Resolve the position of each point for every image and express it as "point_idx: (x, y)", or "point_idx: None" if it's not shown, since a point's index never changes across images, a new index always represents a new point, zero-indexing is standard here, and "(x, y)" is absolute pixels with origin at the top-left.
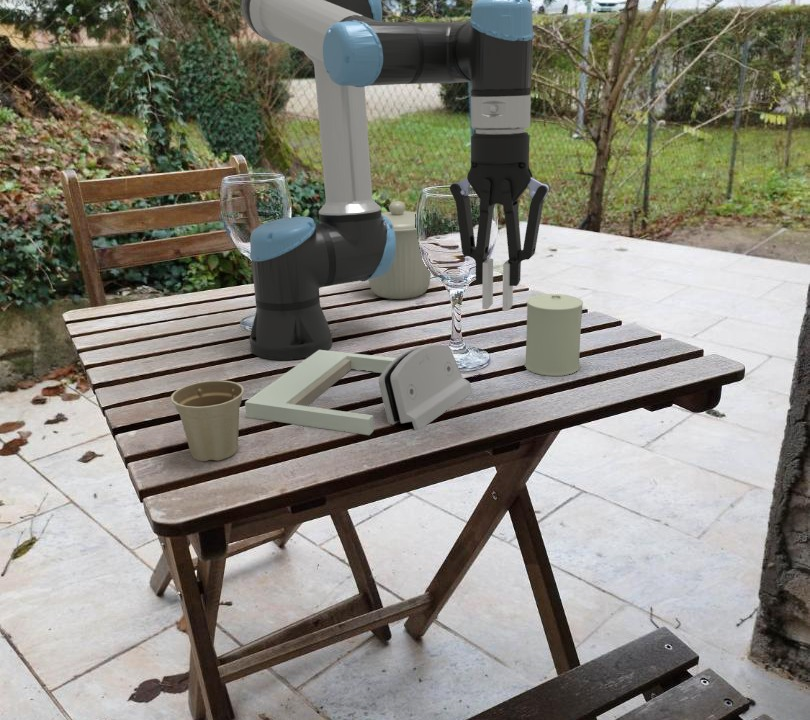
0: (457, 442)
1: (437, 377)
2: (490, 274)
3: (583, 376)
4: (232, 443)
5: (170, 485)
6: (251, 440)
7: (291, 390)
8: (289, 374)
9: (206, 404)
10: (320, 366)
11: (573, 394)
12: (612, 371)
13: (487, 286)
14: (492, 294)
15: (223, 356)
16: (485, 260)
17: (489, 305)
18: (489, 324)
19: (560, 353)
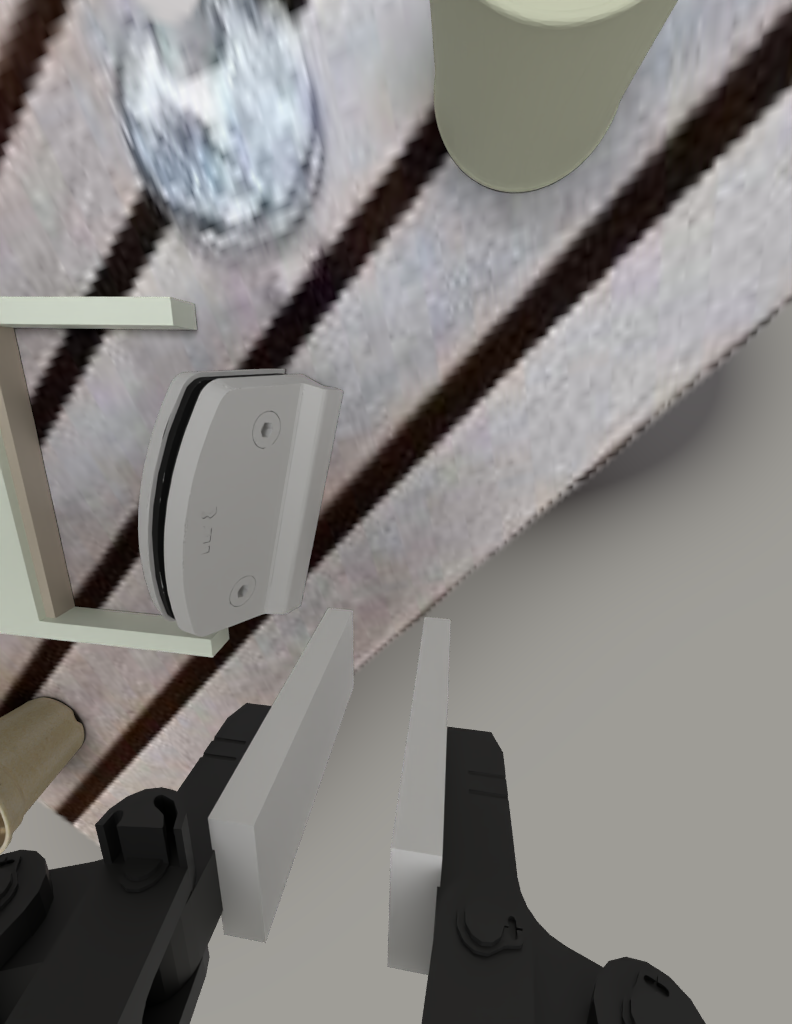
0: (384, 634)
1: (260, 488)
2: (301, 784)
3: (637, 152)
4: (70, 749)
5: (75, 802)
6: (74, 685)
7: (7, 564)
8: None
9: None
10: None
11: (604, 324)
12: (747, 55)
13: (321, 777)
14: (340, 641)
15: None
16: (218, 886)
17: (351, 665)
18: None
19: (576, 137)
